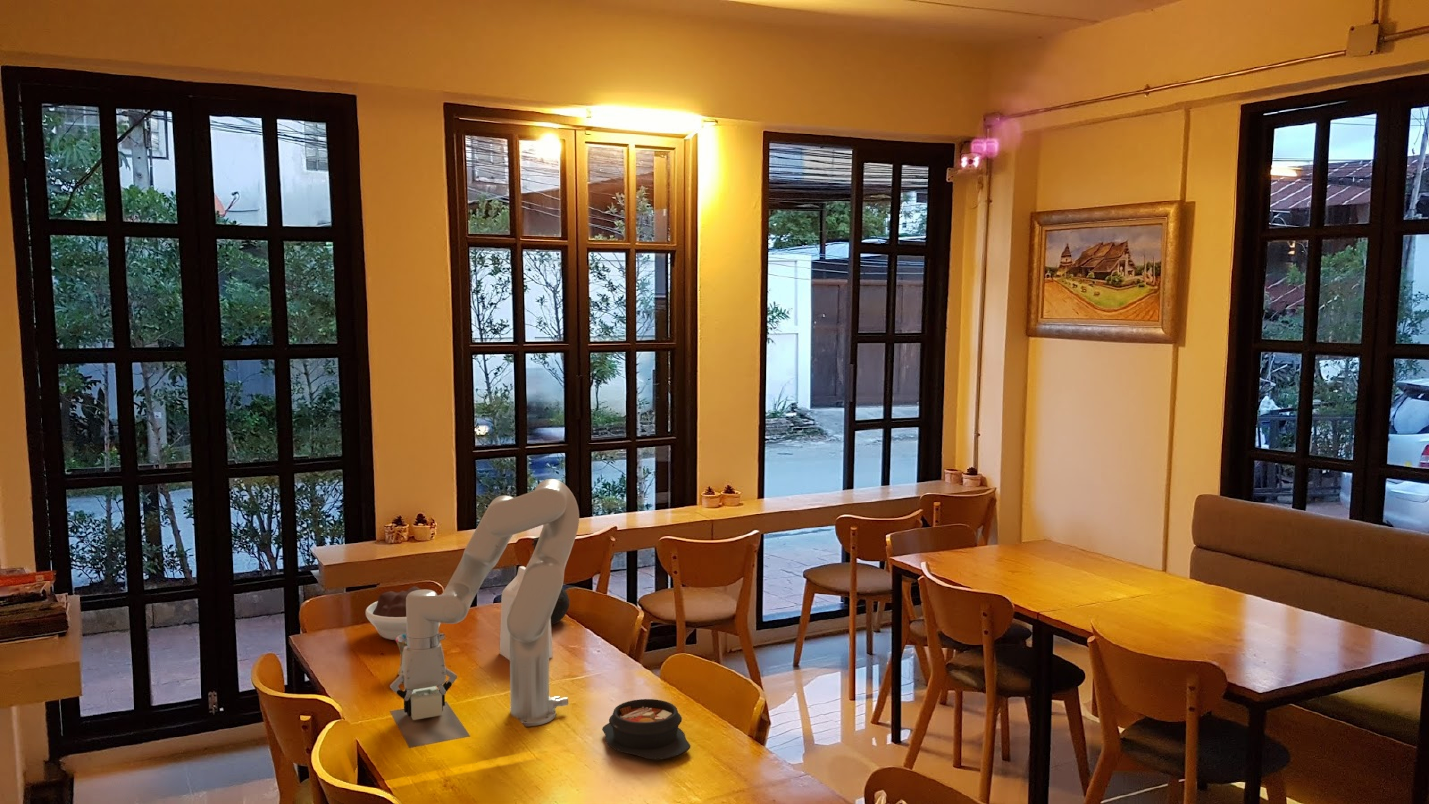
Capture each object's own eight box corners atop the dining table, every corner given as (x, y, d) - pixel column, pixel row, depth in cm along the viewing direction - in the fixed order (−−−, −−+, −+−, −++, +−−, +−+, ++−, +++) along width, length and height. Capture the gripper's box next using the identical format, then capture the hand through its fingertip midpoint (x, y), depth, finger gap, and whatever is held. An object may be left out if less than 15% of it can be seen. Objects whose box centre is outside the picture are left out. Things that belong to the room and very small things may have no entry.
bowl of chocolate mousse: (437, 649, 307) (436, 600, 305) (354, 648, 307) (352, 599, 306) (459, 624, 331) (458, 578, 330) (382, 623, 332) (381, 577, 330)
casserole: (583, 737, 244) (583, 703, 244) (649, 718, 256) (649, 686, 255) (641, 775, 225) (641, 738, 224) (709, 753, 236) (709, 718, 235)
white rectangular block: (442, 714, 251) (441, 695, 251) (413, 720, 248) (412, 700, 248) (435, 705, 257) (435, 685, 257) (407, 710, 254) (406, 690, 254)
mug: (437, 674, 286) (436, 637, 285) (407, 683, 279) (406, 645, 278) (415, 664, 294) (414, 627, 293) (385, 672, 287) (384, 635, 286)
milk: (553, 657, 300) (552, 570, 298) (516, 665, 294) (514, 575, 291) (535, 646, 310) (534, 561, 308) (499, 653, 303) (498, 567, 301)
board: (446, 707, 262) (446, 701, 262) (470, 742, 241) (470, 736, 241) (389, 717, 256) (389, 711, 256) (409, 753, 235) (409, 747, 234)
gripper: (454, 631, 258) (456, 700, 260) (383, 642, 250) (385, 712, 252) (462, 640, 252) (463, 710, 253) (389, 651, 244) (391, 723, 245)
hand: (424, 711), depth 253 cm, fingers closed on white rectangular block, 6 cm apart
